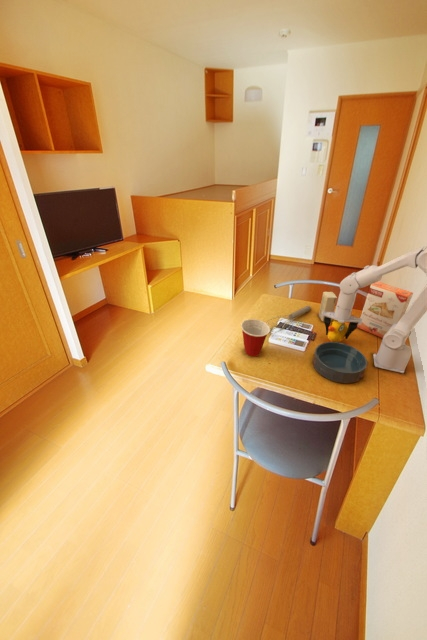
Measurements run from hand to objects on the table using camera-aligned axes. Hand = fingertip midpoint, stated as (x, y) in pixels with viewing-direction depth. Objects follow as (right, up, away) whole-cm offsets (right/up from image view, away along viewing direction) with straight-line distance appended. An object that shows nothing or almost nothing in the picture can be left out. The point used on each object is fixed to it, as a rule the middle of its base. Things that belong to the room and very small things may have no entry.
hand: (336, 335), depth 116 cm
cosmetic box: (+2, +7, +18) cm, 19 cm away
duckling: (0, -2, +1) cm, 3 cm away
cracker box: (+20, +1, +8) cm, 22 cm away
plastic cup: (-34, -6, -4) cm, 35 cm away
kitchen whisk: (-15, +5, +15) cm, 22 cm away
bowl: (-5, -11, -11) cm, 16 cm away
